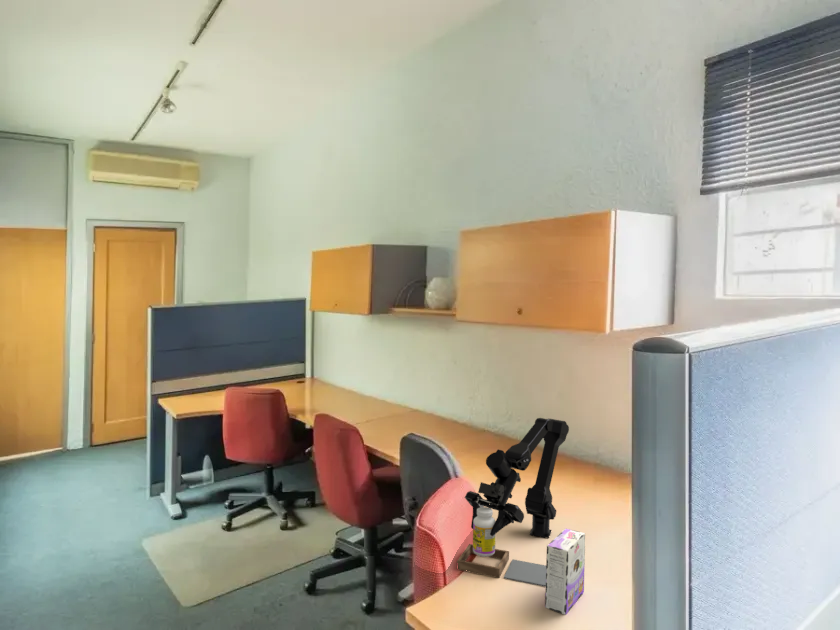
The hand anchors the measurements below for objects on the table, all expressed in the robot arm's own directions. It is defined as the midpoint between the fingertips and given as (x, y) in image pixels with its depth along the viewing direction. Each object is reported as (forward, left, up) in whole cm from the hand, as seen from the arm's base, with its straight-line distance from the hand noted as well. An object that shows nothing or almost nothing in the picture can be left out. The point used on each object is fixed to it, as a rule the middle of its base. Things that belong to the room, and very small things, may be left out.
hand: (481, 531), depth 165 cm
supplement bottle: (-1, +1, -7) cm, 7 cm away
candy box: (+10, +26, -10) cm, 29 cm away
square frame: (-1, +1, -10) cm, 10 cm away
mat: (-1, +14, -10) cm, 17 cm away
